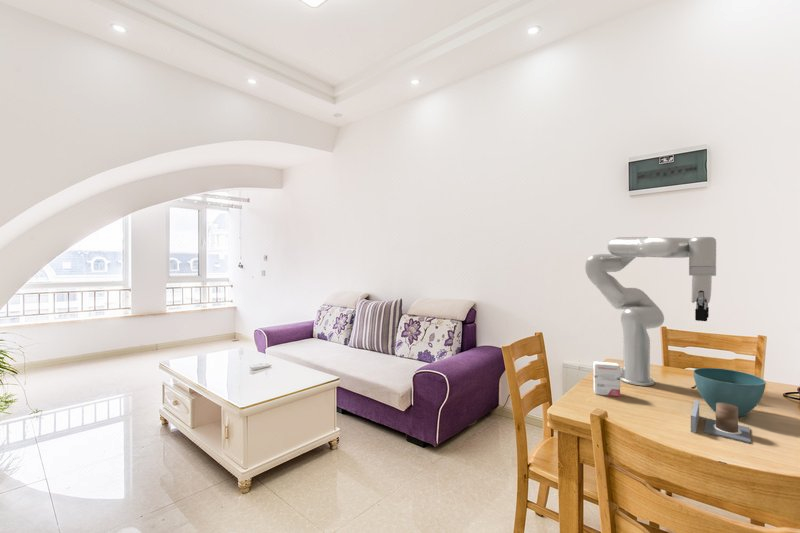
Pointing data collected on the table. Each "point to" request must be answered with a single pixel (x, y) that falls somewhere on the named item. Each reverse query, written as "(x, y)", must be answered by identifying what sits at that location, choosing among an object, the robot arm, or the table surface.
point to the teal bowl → (729, 388)
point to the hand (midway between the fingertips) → (702, 319)
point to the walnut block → (727, 417)
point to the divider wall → (695, 416)
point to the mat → (741, 435)
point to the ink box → (606, 378)
